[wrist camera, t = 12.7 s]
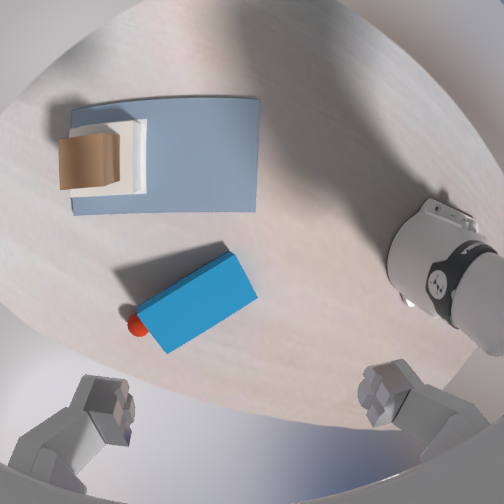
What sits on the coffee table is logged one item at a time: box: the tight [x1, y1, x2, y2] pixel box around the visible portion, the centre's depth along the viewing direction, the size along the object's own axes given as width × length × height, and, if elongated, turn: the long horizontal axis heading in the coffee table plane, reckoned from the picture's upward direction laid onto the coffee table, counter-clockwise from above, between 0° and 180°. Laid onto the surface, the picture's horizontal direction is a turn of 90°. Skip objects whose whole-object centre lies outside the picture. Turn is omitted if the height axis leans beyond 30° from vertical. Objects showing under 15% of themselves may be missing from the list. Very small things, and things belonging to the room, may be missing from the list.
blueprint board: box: [71, 98, 260, 216], centre depth 32 cm, size 24×14×1 cm, turn 88°
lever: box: [128, 251, 258, 354], centre depth 38 cm, size 7×7×18 cm
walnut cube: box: [59, 133, 120, 190], centre depth 25 cm, size 5×5×5 cm
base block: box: [69, 121, 142, 198], centre depth 29 cm, size 8×8×4 cm
